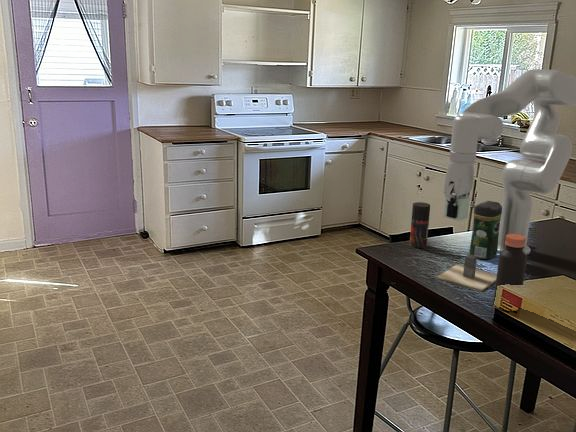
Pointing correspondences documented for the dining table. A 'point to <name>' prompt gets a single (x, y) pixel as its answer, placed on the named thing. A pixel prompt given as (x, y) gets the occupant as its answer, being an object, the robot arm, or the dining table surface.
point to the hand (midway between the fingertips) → (456, 214)
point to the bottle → (511, 262)
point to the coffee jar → (485, 230)
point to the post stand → (468, 275)
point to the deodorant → (419, 225)
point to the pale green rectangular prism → (460, 208)
